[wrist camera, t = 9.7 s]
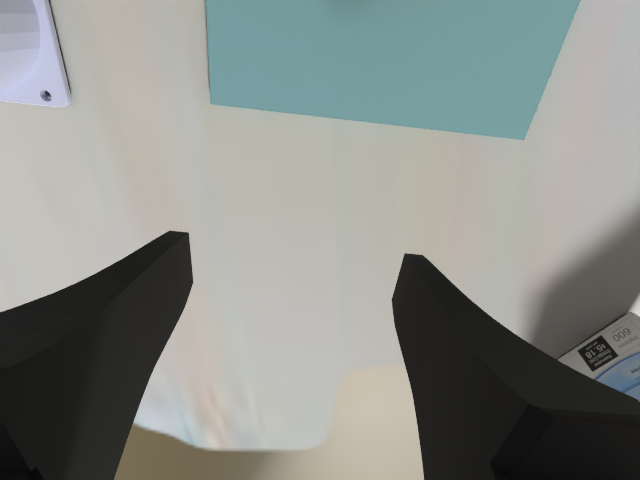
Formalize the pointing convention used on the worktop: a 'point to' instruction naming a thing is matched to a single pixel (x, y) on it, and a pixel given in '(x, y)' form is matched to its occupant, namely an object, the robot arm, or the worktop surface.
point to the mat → (389, 59)
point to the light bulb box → (611, 356)
